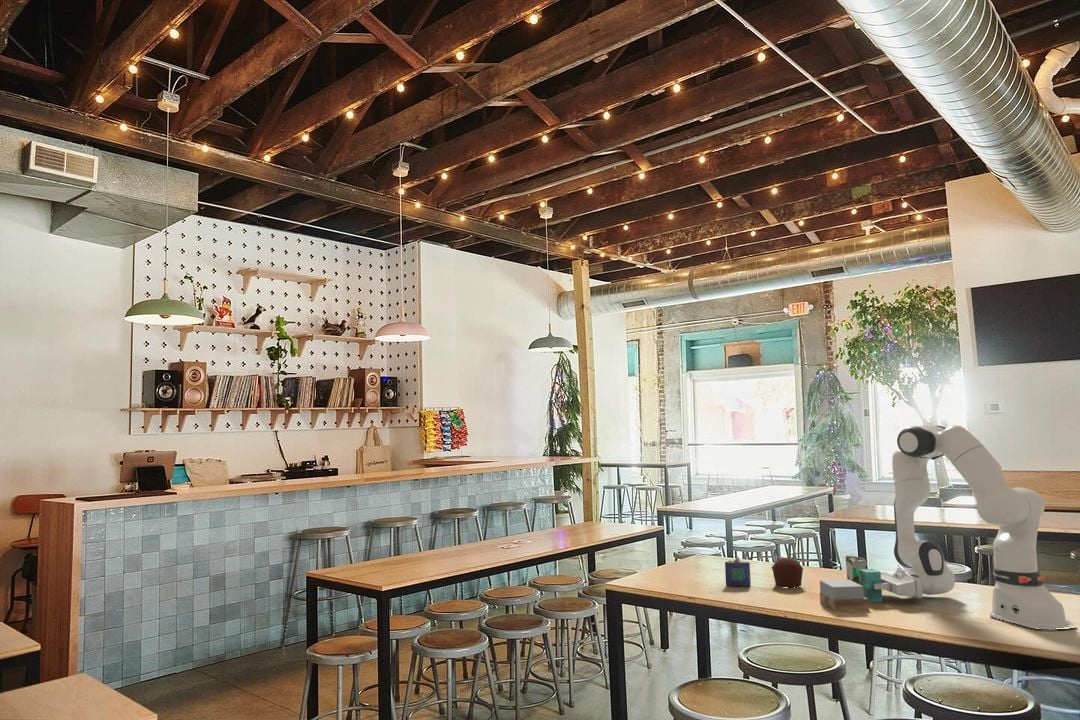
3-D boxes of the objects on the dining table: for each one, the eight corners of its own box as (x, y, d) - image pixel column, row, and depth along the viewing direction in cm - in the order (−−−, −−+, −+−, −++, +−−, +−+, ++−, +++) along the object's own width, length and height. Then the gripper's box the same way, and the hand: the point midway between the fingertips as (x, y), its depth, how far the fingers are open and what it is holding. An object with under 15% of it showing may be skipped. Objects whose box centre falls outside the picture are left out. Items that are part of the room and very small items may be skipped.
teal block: (882, 602, 240) (880, 571, 241) (868, 602, 240) (866, 572, 241) (874, 598, 245) (872, 568, 246) (860, 599, 245) (858, 569, 246)
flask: (749, 585, 268) (748, 556, 269) (751, 587, 265) (750, 557, 266) (725, 585, 268) (723, 556, 269) (726, 587, 266) (725, 558, 266)
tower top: (863, 598, 231) (863, 586, 231) (833, 599, 231) (832, 587, 231) (849, 591, 241) (848, 579, 241) (820, 592, 241) (819, 580, 241)
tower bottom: (869, 611, 230) (868, 598, 231) (836, 613, 230) (835, 600, 230) (851, 603, 241) (850, 591, 242) (820, 604, 241) (819, 592, 241)
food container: (872, 590, 256) (870, 562, 257) (854, 590, 258) (852, 561, 258) (864, 582, 268) (862, 555, 269) (846, 582, 270) (845, 555, 270)
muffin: (774, 581, 273) (773, 555, 274) (805, 584, 268) (804, 556, 269) (770, 588, 263) (769, 560, 264) (802, 590, 258) (800, 562, 259)
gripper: (888, 566, 255) (851, 568, 253) (923, 579, 234) (884, 580, 233) (889, 584, 254) (852, 586, 253) (925, 598, 234) (885, 600, 233)
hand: (867, 583), depth 243 cm, fingers open, 6 cm apart
